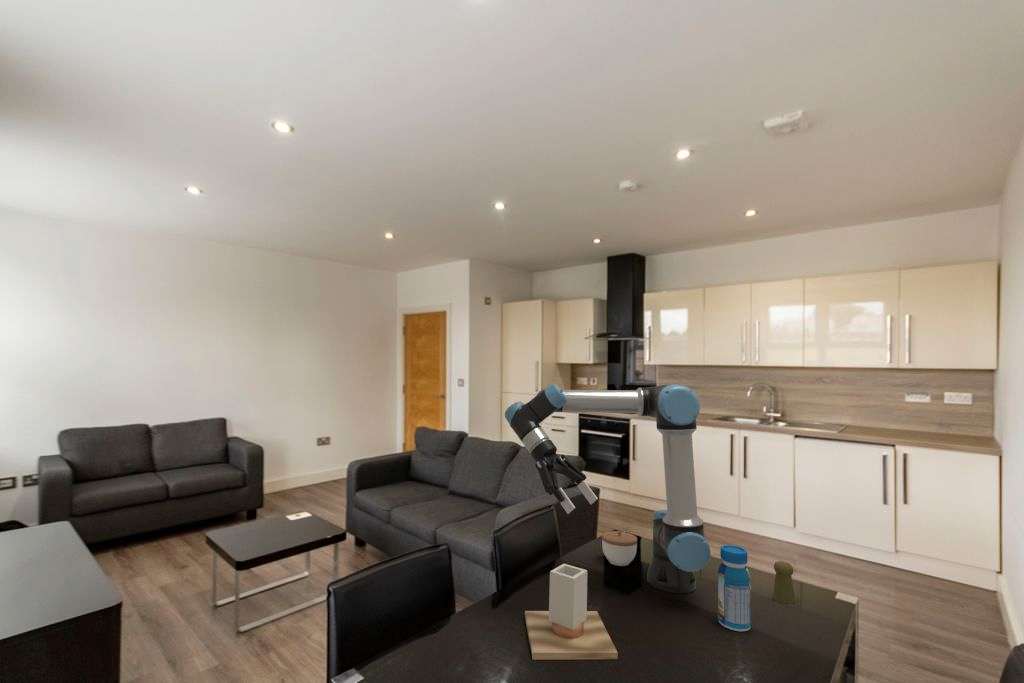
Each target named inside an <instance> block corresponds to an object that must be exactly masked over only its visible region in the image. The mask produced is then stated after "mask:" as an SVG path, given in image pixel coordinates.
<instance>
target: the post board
mask: <svg viewBox="0 0 1024 683" xmlns="http://www.w3.org/2000/svg"><path fill="white" fill-rule="evenodd" d="M601 618H602V617H601V616H600V614H599V613H598V611H597V610H590V611H589V610H587V619H586V620H585V621H583V622H582V623H581V624H580V625H579V626H577V627H576V628H575V629H574V630H572V629H569V628H567V627H564V626H562V625H559V624H556V623H554V622H551V621H549V610H525V611H524V620H525V624H526V631H527V636H528V642H529V647H530V651H531V652H530V653H531V658H532V660H538V661H539V660H540V661H541V660H545V661H546V660H552V661H553V660H557V661H558V660H559V661H560V660H618V659H619V658H618V656H619V655H618V653H619V652H618V651H617V648H616V646H615V645H614V643H613V642H614V641H612V639H611V637H610V634H609V633H608V631H607V629H606V627H605V624H604V623H603V622H604V621H603V620H602V619H601Z"/></svg>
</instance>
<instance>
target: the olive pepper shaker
mask: <svg viewBox="0 0 1024 683" xmlns="http://www.w3.org/2000/svg"><path fill="white" fill-rule="evenodd" d="M773 570H774V572H775V578H774V584H773V593H772V599H773V598H774V599H775V600H774V599H773V600H774V601H776V602H778V601H779V602H778V603H780V602H782V603H781V604H784V603H787V604H786V605H794V603H795V604H796V596H795V591H794V590H795V589H794V585H793V579H792V578H793V577H792V575H793V574H794V567H793V565H792V564H791V563H789V562H788V561H787V562H786V561H783V560H782V561H781V560H779V561H775V562H774V564H773Z"/></svg>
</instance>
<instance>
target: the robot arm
mask: <svg viewBox="0 0 1024 683" xmlns="http://www.w3.org/2000/svg"><path fill="white" fill-rule="evenodd" d="M700 410H701V403H700V400H699V398H698V396H697V394H696V393H695V392H694V391H693V390H692V389H690V388H689V387H687V386H684V385H681V384H663V385H656V386H650V387H649V386H648V387H638V388H637V389H635V390H634V389H633V390H632V389H631V390H628V389H627V390H624V389H623V390H621V389H619V390H618V389H616V390H614V389H613V390H611V389H610V390H609V389H606V390H605V389H561V388H560V387H559V386H558V385H557V384H556V383H555V382H554V383H551V384H549V385H548V386H546V387H544V389H542V390H539V392H538V393H537V394H536V395H535V396H534V397H533V398H531V399H530V400H529V401H528V402H526V403H524V402H522V401H516V402H514V403H512V404H511V405H509V406H508V407H507V408H506V409H505V412H504V417H505V419H506V421H507V422H508V424H509V427H510V428H511V429H512V430H513V432H514V433H515V434H516V436H517V437H518V439H519V440H520V441H521V443H522V444H523V446H524V447H525V449H526V450H527V451H528V452H529V453H530V455H531V457H532V459H533V460H534V461H535V462H536V463H535V464H534V466H535V468H536V469H537V471H538V473H539V476H540V479H541V482H542V485H543V488H544V491H545V493H547V494H548V495H549V496H552V495H554V496H555V499H557V501H558V502H559V504H560V505H561V507H562V508H563V510H565V512H566V514H567V515H569V514H570V513H571V512H572V511H573V510H575V509H576V506H575V505H574V503H573V502H572V501H571V499H570V498H569V497H568V495H567V494H566V492H565V491H564V489H563V488H562V487H559V482H558V475H557V474H559V475H563V476H565V477H566V478H568V479H569V480H571V481H572V482H574V483H576V484H577V488H578V489H579V491H580V492H581V493H582V495H583V496H584V497H585V499H586V500H587V502H588V503H589V504H590V505H593V504H594V503H595V502H596V501H597V500H598V497H597V495H596V494H595V493H594V491H593V490H592V489H591V488H590V486H589V485H588V484H587V482H586V479H587V475H586V474H584V472H582V471H581V470H580V469H579V468H578V467H576V465H574V464H573V463H572V462H571V461H570V460H569V459H568V458H567V457H566V456H565V455H564V454H561V455H560V456H558V454H557V450H558V448H557V446H556V445H555V444H554V442H553V441H552V440H551V439H550V437H549V435H548V434H547V433H546V432H545V431H544V429H543V428H542V426H541V425H540V424H541V423H542V422H544V420H545V421H546V419H547V418H549V417H550V416H552V415H553V414H554V413H599V414H600V413H604V414H605V413H608V414H610V413H611V414H612V413H613V414H637V415H638V416H639V417H649V418H654V419H655V422H656V424H655V425H656V430H657V431H658V432H659V433H660V434H661V435H662V436H661V437H662V452H663V466H664V467H663V468H664V482H665V483H664V484H665V498H666V509H657V510H654V512H653V515H652V516H653V517H652V558H651V561H650V564H649V567H648V570H647V576H646V581H647V583H648V584H649V585H650V586H651V587H653V588H655V589H658V590H659V591H664V592H666V593H672V594H673V593H674V594H689V593H692V592H694V591H695V590H696V588H697V580H696V576H695V573H694V572H698V571H700V570H702V569H703V568H704V567H706V566H707V564H708V563H709V561H710V559H711V548H710V544H709V541H708V540H707V539H706V538H705V527H704V521H703V519H702V518H701V517H700V516H699V515H698V506H697V505H698V504H697V491H696V490H697V489H696V478H695V477H696V476H695V474H696V473H695V464H694V463H695V462H694V461H695V460H694V449H693V448H694V447H693V433H694V432H696V430H697V418H698V416H699V413H700Z"/></svg>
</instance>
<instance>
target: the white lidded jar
mask: <svg viewBox="0 0 1024 683" xmlns="http://www.w3.org/2000/svg"><path fill="white" fill-rule="evenodd" d="M601 540H602V541H601V542H602V543H601V547H602V552H603V554H604V556H605V557H606V559H607V560H608V562H609V564H611V565H613V566H616V567H617V566H619V567H626V566H629V565H630V563H632V561H633V560H634V559H635V557H636V555H637V549H638V537H637V536H636V535H634V534H632V533H629V532H625V531H621V530H617V531H616V530H612V531H606V532H603V533H602V534H601Z"/></svg>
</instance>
